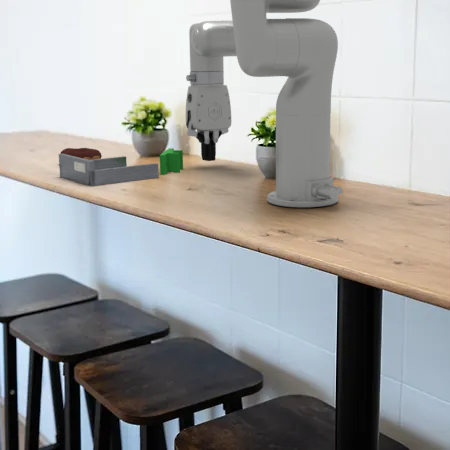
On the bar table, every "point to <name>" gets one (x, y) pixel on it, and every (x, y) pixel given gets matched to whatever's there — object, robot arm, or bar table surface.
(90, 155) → the donut
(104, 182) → the grey tray
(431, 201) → the bar table surface
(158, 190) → the bar table surface
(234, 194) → the bar table surface
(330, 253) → the bar table surface
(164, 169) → the green stepped block
